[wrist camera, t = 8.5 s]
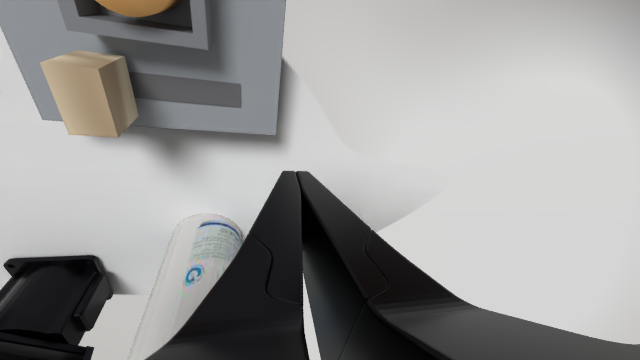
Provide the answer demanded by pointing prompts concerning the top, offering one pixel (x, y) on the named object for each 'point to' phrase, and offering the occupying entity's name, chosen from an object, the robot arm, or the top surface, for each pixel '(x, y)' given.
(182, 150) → the top surface
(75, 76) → the slider knob
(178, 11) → the control panel
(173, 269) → the spray can
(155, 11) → the push button
